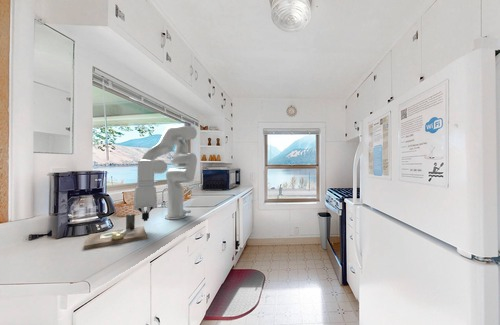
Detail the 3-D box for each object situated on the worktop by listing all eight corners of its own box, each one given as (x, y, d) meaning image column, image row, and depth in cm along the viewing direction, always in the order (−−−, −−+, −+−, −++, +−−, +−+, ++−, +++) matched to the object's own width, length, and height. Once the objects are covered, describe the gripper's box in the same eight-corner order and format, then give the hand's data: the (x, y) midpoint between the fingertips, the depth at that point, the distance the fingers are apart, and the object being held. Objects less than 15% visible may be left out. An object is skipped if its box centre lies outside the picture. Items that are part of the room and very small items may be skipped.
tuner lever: (120, 239, 85) (121, 222, 85) (109, 240, 85) (109, 222, 85) (136, 228, 101) (136, 213, 101) (127, 228, 101) (127, 214, 101)
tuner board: (143, 229, 105) (143, 226, 105) (146, 238, 91) (147, 234, 91) (89, 237, 93) (89, 233, 93) (84, 249, 79) (84, 245, 80)
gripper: (160, 183, 111) (160, 217, 110) (128, 184, 102) (127, 221, 102) (162, 184, 104) (162, 220, 104) (129, 185, 96) (128, 224, 96)
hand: (145, 220), depth 103 cm, fingers closed
